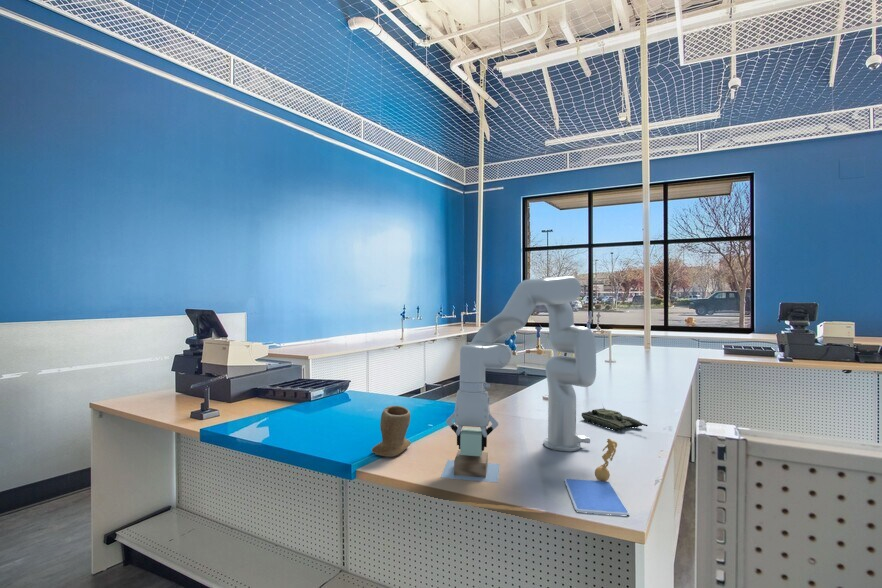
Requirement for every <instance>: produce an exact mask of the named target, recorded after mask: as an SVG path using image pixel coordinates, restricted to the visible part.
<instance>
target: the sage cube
mask: <svg viewBox="0 0 882 588" xmlns="http://www.w3.org/2000/svg"><path fill="white" fill-rule="evenodd" d="M461 431H462V432H461V434H460V449H459V451H460V455H468V456H481V455H482V452H483V451H482V434H483V433H482V431H481V428H472V427H468V428H467V427H466V428H465V427H462V430H461Z"/></svg>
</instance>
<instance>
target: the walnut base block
mask: <svg viewBox="0 0 882 588" xmlns="http://www.w3.org/2000/svg"><path fill="white" fill-rule="evenodd" d="M488 457H489V455H488V452H486V451H485V452H484V451H482V455H481V456H468V455H460V449H459V450H457V452H456V455H455V457H454V459H453V460H454V475H458V476H471V477H483V478H486V473H487V467H488V463H489V461H488V460H489V458H488Z"/></svg>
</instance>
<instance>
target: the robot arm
mask: <svg viewBox="0 0 882 588" xmlns="http://www.w3.org/2000/svg"><path fill="white" fill-rule="evenodd" d="M581 293H582V286H581V282H580V280H579V279H578V278H577V277H575V276H571V275H569V276H547V277H541V278H533V279H532V278H530V279H524V280H522V281H520V283H518V285H517V286H516V288H515V289H514V290H513V293H512V294H511V296H510V298H509V300H508V301H507V303H506V304H505V306H504V307H503V309H502V311H501V312H500V313H498V314H497V315H496V316H494V317H492V319H490V320H489V321H487V322H486V323H485V324H483V325H482V326H481V328H479V330H478V331H477V332H476V333H475V335H474V337H473V338H472V340H471V342H470V344H463V345H462V346H461V347H460V349H459V389H458V390H457V392H456V397H455V407H454V412H453V413H452V414H451V415H449V417H448V418H447V419H446V421H445V423H446V424H447V425H448V427H449V428H450V429H451V430H452V431H453V432H454V433H455V435H456V446H458V449H459V450H460V434H461V432H462V429H463V428H464V427H468V428H479V429H481V431H482V433H483V434H482V452H484V451H485V448H487V446H488V445H487V443H488V440H487V438H488V436H489V435H490V434H491V433H492V432H493V431H494V430H495V429H496V428H497V427H498V426H499V422H498V421H497V420H496V419H495V417H494V416H493V415H492V414H491V410H490V397H489V391H487V389H491V383H488V382H486V369H495V370H500V369H503V368H505V367H507V366H508V365H509V364H510V361H511V359H512V358H511V357H512V353H511V351H510V349H509V348H508V347H507V346H505V345H503V344H501V343H496V341H497V340H498V339H500V338H501V337H504V336H505V335H508V334H511V333H514V332H517V331H519V330H521V329H523V328H524V327H525V326H526V325H527V323H528V322H529V319H530V318H531V316H532V314H533V312H534V310H535V309H536V307H537V306H545V308H546V310H547V314H548V332H549V333H548V334H549V335H548V338H549V345H550V348H551V349H552V350H553V351H555V352H559V353H565V354H574V355H575V357H573V356H567V355H554V356H553V355H552V356H551V357H550V358H548V359H547V362H546V363H545V375H546V380H547V388H548V389H547V390H548V391H547V392H548V393H547V394H548V395H547V396H548V398H547V399H548V401H547V402H548V404H547V405H548V407H547V438H545V439H544V440H543V442H542V443H543V445H544V446H545V447H546V448H548V449H550V450H554V451H559V452H575V451H578V450H580V449H581V443H582V444H583V443H584V444H591V438H590V437H587V436H585V435H579V434H577V395H576V394H577V393H576V392H575V389H574V386H576V387H583V388H588V387H590V386H592V385H593V384H594V383H595V380H596V376H597V348H596V347H597V346H596V337H595V335H594V333H593V331H592V330H591V329H590V328H589V327H587V326H586V327H585V326H581V325H575V321H574V310H573V307H572V305H571V303H572V302H575V301H576V300H578V298H579V297H580V296H581ZM453 421H454V422H453ZM490 423H491V425H490V426H489V424H490Z"/></svg>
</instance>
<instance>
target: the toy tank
mask: <svg viewBox="0 0 882 588" xmlns="http://www.w3.org/2000/svg"><path fill="white" fill-rule="evenodd" d="M602 405H603V403H602ZM602 407H603V408H595V409H592V410H588V411H586V412H582V413H581V417H582V418H583V420H584V422H586V421H588V422H587V423H589V422H591V423H590V424H592V423H594V424H593V425H595V424H597V425H596V426H598V425H600V426H599V427H601V426H603V427H602V428H604V427H607V428H610V429H613V430H616V431H615V432H619V431H618V430H620V431H622V430H625V429H628V428H630V427H637V428H639V427H648V424H646V423H643V422H640V420H636V419H635V418H633V417H630V416H626V415H623V414H622V413H621V412H619V411H616V410H612V409H606V408H605V406H602ZM607 428H606V429H607ZM610 429H609V430H610ZM630 429H631V428H630ZM613 430H612V431H613Z"/></svg>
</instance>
